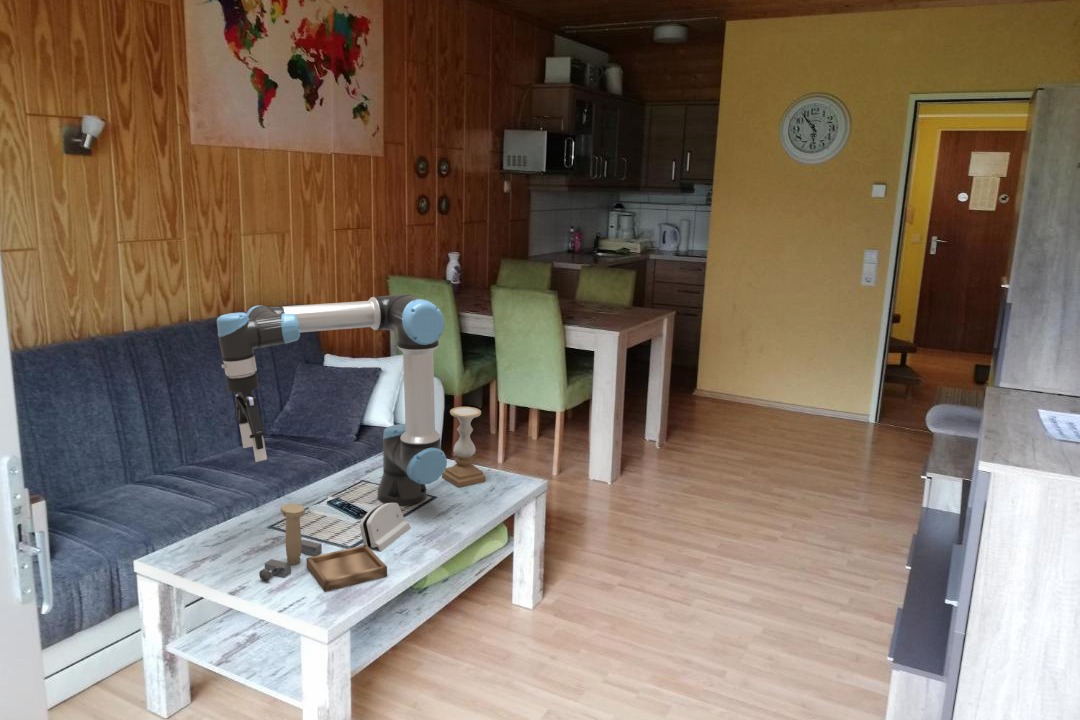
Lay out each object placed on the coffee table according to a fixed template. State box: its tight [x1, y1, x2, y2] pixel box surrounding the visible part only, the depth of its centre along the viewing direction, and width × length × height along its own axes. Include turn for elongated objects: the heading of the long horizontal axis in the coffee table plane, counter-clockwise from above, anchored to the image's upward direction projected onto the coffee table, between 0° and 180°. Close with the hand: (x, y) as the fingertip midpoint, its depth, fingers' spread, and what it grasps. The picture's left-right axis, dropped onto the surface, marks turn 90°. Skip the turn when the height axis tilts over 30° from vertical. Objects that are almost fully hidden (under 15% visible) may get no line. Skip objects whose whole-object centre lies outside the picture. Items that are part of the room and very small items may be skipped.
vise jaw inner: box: [301, 539, 323, 557], centre depth 210 cm, size 2×6×2 cm, turn 69°
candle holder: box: [441, 406, 487, 488], centre depth 263 cm, size 11×11×24 cm
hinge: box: [359, 503, 411, 552], centre depth 221 cm, size 17×5×10 cm, turn 160°
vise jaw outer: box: [258, 558, 292, 582], centre depth 197 cm, size 6×6×3 cm
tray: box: [305, 544, 388, 592], centre depth 201 cm, size 16×14×2 cm
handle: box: [280, 502, 306, 565], centre depth 203 cm, size 5×6×15 cm
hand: (254, 453), depth 206 cm, fingers open, 13 cm apart
